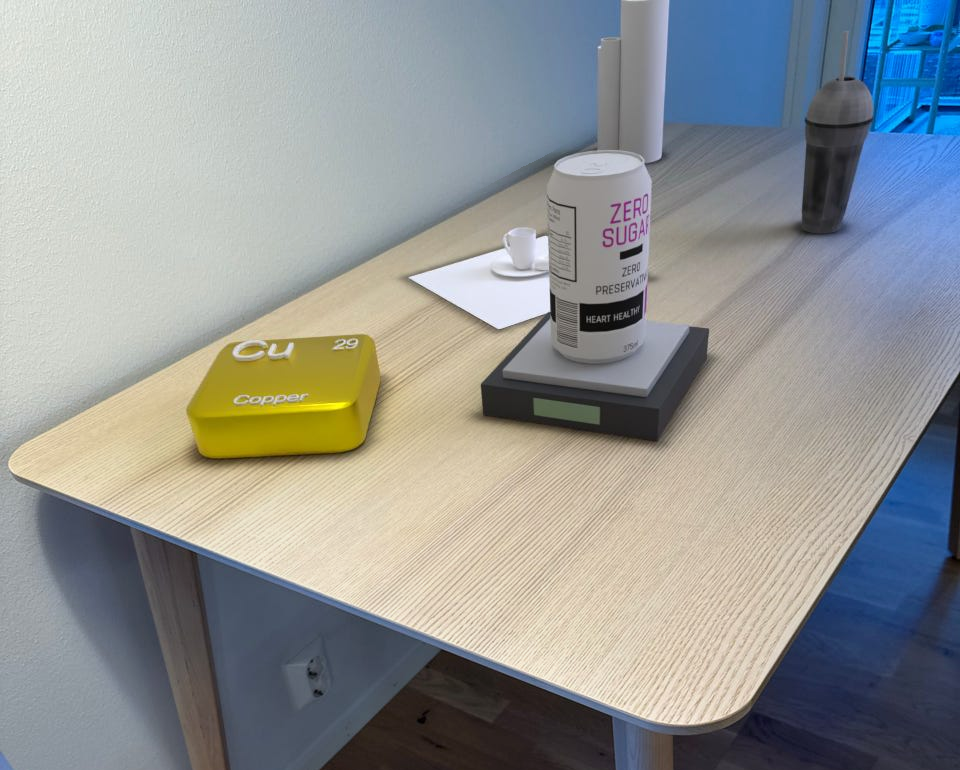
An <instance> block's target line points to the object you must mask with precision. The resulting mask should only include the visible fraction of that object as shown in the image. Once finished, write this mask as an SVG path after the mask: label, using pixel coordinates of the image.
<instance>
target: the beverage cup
mask: <svg viewBox="0 0 960 770" xmlns="http://www.w3.org/2000/svg"><path fill="white" fill-rule="evenodd" d="M848 41H849V30H843V32H842V42H841V52H840V53H841V54H840V63H839V73H838V74H839V75H838V77H834V78H833V79H831V80H829V81H828V82H826V83H825V84H823V85H822V86H821V87H820V88H819V89H818V90H817V92H816V93H815V95H814V96H813V98H811V100H810V103H809V106H808V109H807V112H806V116H805V117H804V123H805V126H804V133H805V134H804V137H805V138H804V139H805V154H804V171H803V185H802V187H803V188H802V199H801V200H802V203H801V226H800V227H801V229H802V230H803V231H804V232H807V233H810V234H811V233H812V234H831V233H836V232H838V231H839V230H841V228H842V224H843V221H844V217H845V214H846V212H847V208H848V204H849V200H850V196H851V193H852V189H853V185H854V181H855V178H856V174H857V170H858V166H859V162H860V159H861V155H862V151H863V147H864V144H865V141H866V140H867V137H868V134H869V132H870V129H871V124H872V123H873V121H874V102H873V97H872V93H871V91H870V89H869V88H868V86H867V85H866V83H864V82H863V81H862V80H860V79H859V78H857V77H854V76H845V72H846V64H847V63H846V60H847V52H848Z"/></svg>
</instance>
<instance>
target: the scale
mask: <svg viewBox="0 0 960 770" xmlns="http://www.w3.org/2000/svg"><path fill="white" fill-rule="evenodd" d="M709 336H710V328H709V327H698V326H692V325H691V326H690V324H685V323H674V322H666V321H665V322H664V321H656V320H655V321H654V320H646V325H645V338H644V341H643V344H642V345H641V346H639V347H638V348H637V349H636V351H635V352H634V353H632V354H631V355H630V356H629V357H626V358H624V359H621V360H619V361H614V362H609V363H598V364H589V363H581V362H576V361H573V360H570V359H567V358H565V357H564V356H563V355H562V354H560V352H559V351H558V350H557V349H555V348H554V347H553V344H552V341H551V319H550V312H548V313H546V314H544V316H543V317H542V318H541V319H540V320H539V321H538V322H537V323H536V324H535V325H534V326H533V327H532V329H531V330H530V331H528V333H527V334H526V335H525V336H524V337H523V338H522V339H521V340H520V341H519V342H518V343H517V344H516V346H515V347H514V348H513V349H512V350H511V351H510V352H509V353H508V354H507V355H506V356H505V357H504V358H503V360H502V361H501V362H500V363H499V364H498V365H497V366H496V367H495V368H494V369H493V370H492V371H491V372H490V373H489V375H488V376H486V378H484V380H482V382H481V383H480V392H481V394H480V395H481V405H482V415H484V416H489V417H495V418H502V419H508V420H514V421H521V422H529V423H535V424H541V425H548V426H554V427H561V428H567V429H573V430H574V429H575V430H580V431H581V430H582V431H587V432H592V433H593V432H594V433H600V434H607V435H613V436H620V437H626V438H632V439H633V438H634V439H640V440H647V441H653V442H658V441H659V439H660V437H661V435H662V434H663V432H664V431H665V429H666V427H667V426H668V424H669V422H670V420H671V419H672V418H673V415H674V414H675V412H676V411H677V409H678V408H679V405H680V404H681V402H682V400H683V399H684V397H685V396H686V394H687V392H688V390H689V388H691V385H692V384H693V382H694V381H695V379H696V377H697V375H698V374H699V372H700V370H701V368H702V367H703V366H704V364H705V362H706V360H707V358H708V348H709V338H710V337H709Z"/></svg>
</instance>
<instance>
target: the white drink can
mask: <svg viewBox="0 0 960 770" xmlns="http://www.w3.org/2000/svg"><path fill="white" fill-rule="evenodd" d="M549 178H550V179H549V180H548V183H547V184H546V210H547V213H546V214H547V236H548V249H549V284H550V319H551V341H552V344H553V347H554V348H555V349H557V350H558V351H559V352H560V354H562V355H563V356H564V357H565V358H567V359H570V360H573V361H576V362H581V363H589V364H598V363H609V362H614V361H619V360H621V359H624V358H626V357H629V356H630V355H631V354H632V353H634V352H635V351H636V349H637V348H638V347H639V346H641V345H642V344H643V341H644V338H645V325H646V321H647V301H648V300H647V299H648V280H649V279H648V276H649V275H648V274H649V257H650V256H649V255H650V253H649V252H650V232H651V229H650V228H651V209H652V208H651V206H652V186H653V185H652V183H653V180H652V178H651V176H650V174H649V171H648V168H647V167H646V164H645V163H644V159H643V157H642V156H640V155H638V154H635V153H633V152H627V151H619V150H599V151H597V150H588V151H583V152H582V151H581V152H576V153H573V154H570V155H567V156H563V157H561V158H560V159H558V160H556V162H555V163H554V165H553V172H552V173H551V175H550V177H549Z"/></svg>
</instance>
